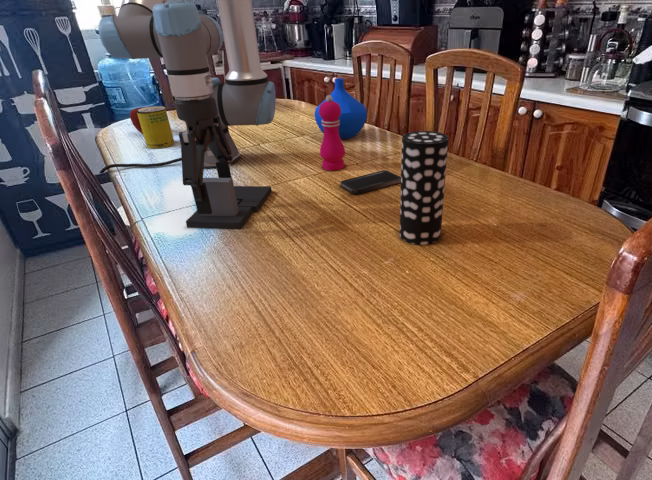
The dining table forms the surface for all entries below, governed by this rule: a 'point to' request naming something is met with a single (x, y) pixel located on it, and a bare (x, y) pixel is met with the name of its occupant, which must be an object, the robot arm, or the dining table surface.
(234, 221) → the tab pad
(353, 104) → the vase
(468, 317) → the dining table surface
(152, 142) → the yellow can
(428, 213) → the spotted tube
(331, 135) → the pepper mill
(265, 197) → the notch pad
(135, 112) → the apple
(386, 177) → the phone
